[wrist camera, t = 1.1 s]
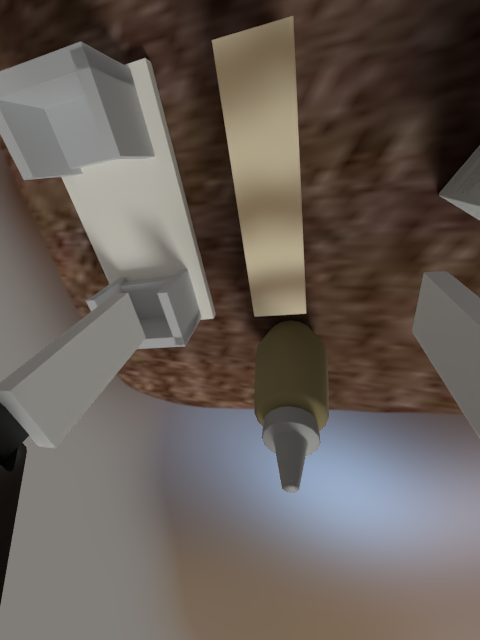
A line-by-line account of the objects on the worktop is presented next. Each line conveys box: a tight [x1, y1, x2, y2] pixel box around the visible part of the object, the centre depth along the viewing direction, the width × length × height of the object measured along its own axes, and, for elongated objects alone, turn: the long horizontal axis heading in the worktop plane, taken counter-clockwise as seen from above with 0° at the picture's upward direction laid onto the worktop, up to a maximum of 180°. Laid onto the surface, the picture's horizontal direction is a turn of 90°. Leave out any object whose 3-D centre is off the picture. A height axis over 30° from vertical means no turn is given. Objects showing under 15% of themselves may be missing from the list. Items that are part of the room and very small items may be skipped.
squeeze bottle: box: [255, 320, 329, 492], centre depth 26 cm, size 8×8×18 cm
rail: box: [212, 16, 306, 317], centre depth 22 cm, size 18×4×8 cm, turn 9°
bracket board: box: [0, 42, 216, 349], centre depth 26 cm, size 24×12×7 cm, turn 10°
